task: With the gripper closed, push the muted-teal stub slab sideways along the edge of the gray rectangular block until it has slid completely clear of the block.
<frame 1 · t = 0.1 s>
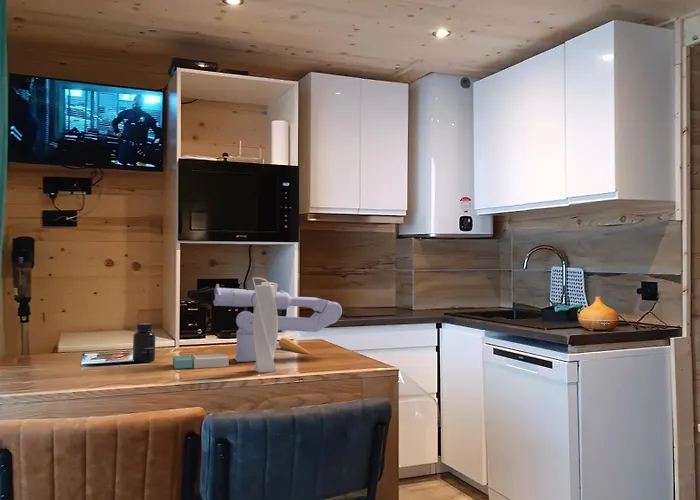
hand: (188, 294, 198), 22 cm above the worktop, tool horizontal, fingers open, 7 cm apart
skyscraper: (264, 371, 186), on the worktop
gray rectangular block: (209, 365, 194), on the worktop
stub: (182, 361, 191), point 1 cm above the worktop, slide at 0.0 cm
supplement bottle: (143, 361, 200), on the worktop
carrot: (295, 352, 223), on the worktop
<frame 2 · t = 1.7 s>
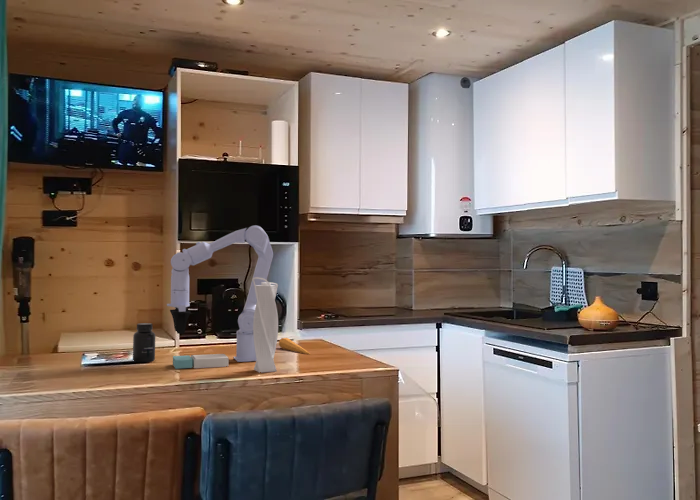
hand: (179, 332, 200), 9 cm above the worktop, tool pointing down, fingers open, 6 cm apart
nothing on the worktop moved.
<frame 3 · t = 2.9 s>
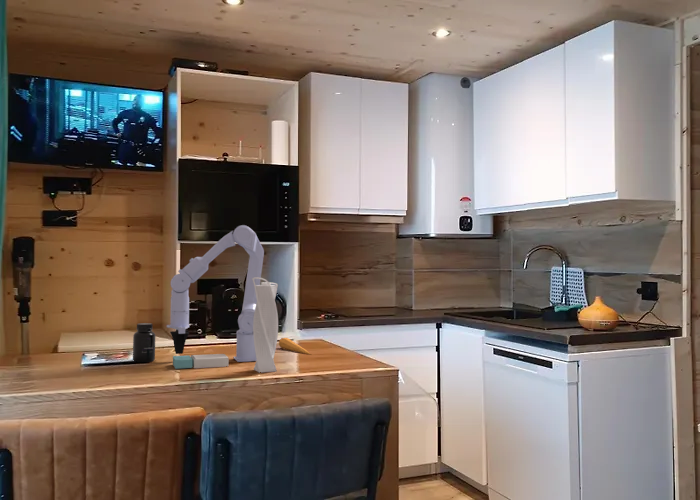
hand: (179, 353, 200), 3 cm above the worktop, tool pointing down, fingers closed
nothing on the worktop moved.
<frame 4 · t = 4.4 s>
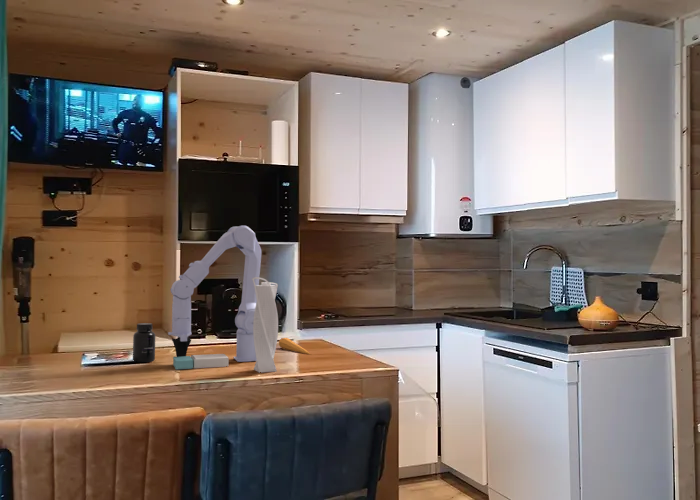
hand: (181, 361, 195), 1 cm above the worktop, tool pointing down, fingers closed
stub: (182, 362, 190), point 1 cm above the worktop, slide at 1.2 cm, touching gripper
everything else where it was.
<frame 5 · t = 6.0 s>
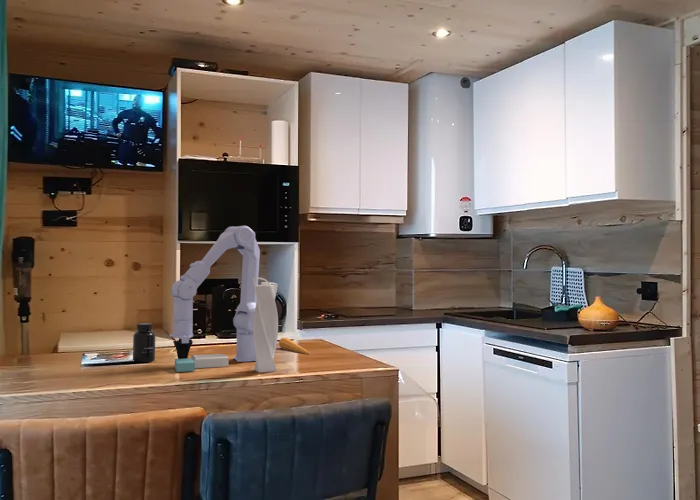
hand: (182, 363, 191), 1 cm above the worktop, tool pointing down, fingers closed
stub: (184, 364, 186), point 1 cm above the worktop, slide at 5.4 cm, touching gripper
everything else where it was.
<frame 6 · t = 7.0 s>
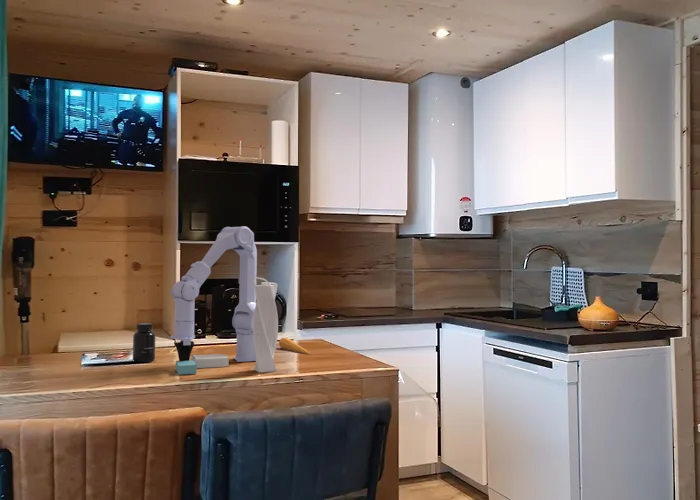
hand: (184, 366, 187), 1 cm above the worktop, tool pointing down, fingers closed
stub: (186, 367, 182), point 1 cm above the worktop, slide at 9.6 cm, touching gripper
everything else where it was.
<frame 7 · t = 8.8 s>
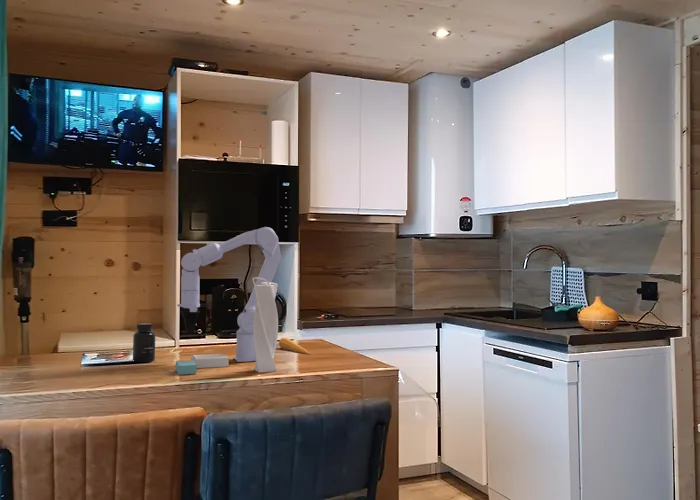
hand: (190, 332, 200), 9 cm above the worktop, tool pointing down, fingers closed
stub: (186, 367, 182), point 1 cm above the worktop, slide at 9.6 cm
everything else where it was.
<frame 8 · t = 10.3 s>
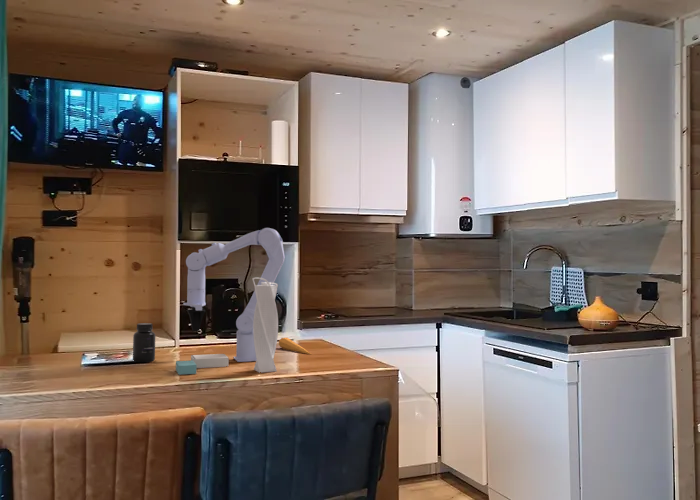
hand: (195, 330, 204), 9 cm above the worktop, tool pointing down, fingers closed
nothing on the worktop moved.
at the end: stub slide at 9.6 cm; the gripper is holding nothing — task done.
